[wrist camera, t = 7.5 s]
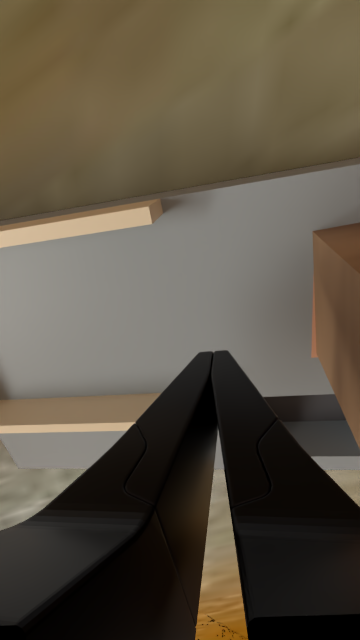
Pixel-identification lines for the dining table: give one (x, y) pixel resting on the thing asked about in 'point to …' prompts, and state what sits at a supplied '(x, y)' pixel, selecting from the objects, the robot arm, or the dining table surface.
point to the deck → (167, 310)
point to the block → (339, 314)
